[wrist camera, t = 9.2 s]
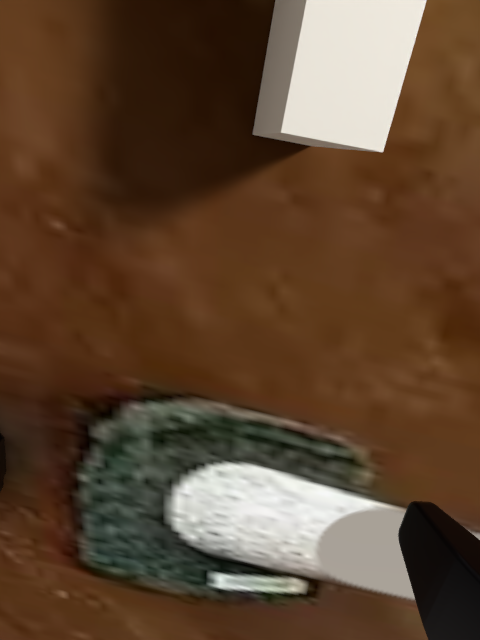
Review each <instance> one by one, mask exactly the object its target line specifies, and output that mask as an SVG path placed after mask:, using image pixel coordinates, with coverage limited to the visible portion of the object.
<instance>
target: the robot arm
mask: <svg viewBox="0 0 480 640" xmlns="http://www.w3.org/2000/svg"><path fill="white" fill-rule="evenodd" d="M5 473H6V461H5V445H4V437H3V435H2V433H0V491H1V490H2V488H3V485H4V483H3V477H4V475H5ZM398 536H399V543H400V547H401V551H402V554H403V558H404V561H405V564H406V568H407V572H408V575H409V579H410V582H411V586H412V589H413V593H414V596H415V600H416V603H417V607H418V610H419V613H420V617H421V620H422V623H423V626H424V629H425V631H426V634H427V637H428V640H480V540H479V539H478V538H476V537H475V536H474V535H473V534H471V533H470V532H469V531H468V530H466V529H465V528H464V527H463V526H461V525H460V524H459V523H458V522H456V521H455V520H454V519H453V518H451V517H450V516H449V515H448V514H446V513H445V512H444V511H443V510H441V509H440V508H439V507H438V506H436V505H435V504H433V503H431V502H422V501H413V502H411V503H410V504H409V506H408V508H407V510H406V513H405V516H404V518H403V521H402V524H401V526H400V528H399V535H398Z"/></svg>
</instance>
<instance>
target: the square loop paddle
mask: <svg viewBox="0 0 480 640" xmlns="http://www.w3.org/2000/svg"><path fill="white" fill-rule="evenodd" d="M426 1H427V0H275V5H274V11H273V17H272V23H271V29H270V35H269V40H268V46H267V52H266V58H265V64H264V70H263V76H262V82H261V87H260V93H259V99H258V105H257V111H256V117H255V123H254V129H253V134H252V135H257V136H262V137H267V138H272V139H277V140H283V141H288V142H293V143H298V144H303V145H308V146H316V147H328V148H339V149H351V150H362V151H374V152H383V150H384V147H385V143H386V140H387V136H388V133H389V129H390V126H391V122H392V119H393V115H394V112H395V108H396V105H397V101H398V98H399V95H400V91H401V88H402V84H403V81H404V77H405V74H406V70H407V67H408V63H409V60H410V56H411V53H412V49H413V46H414V42H415V39H416V35H417V32H418V29H419V25H420V22H421V18H422V15H423V11H424V8H425V4H426Z"/></svg>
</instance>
